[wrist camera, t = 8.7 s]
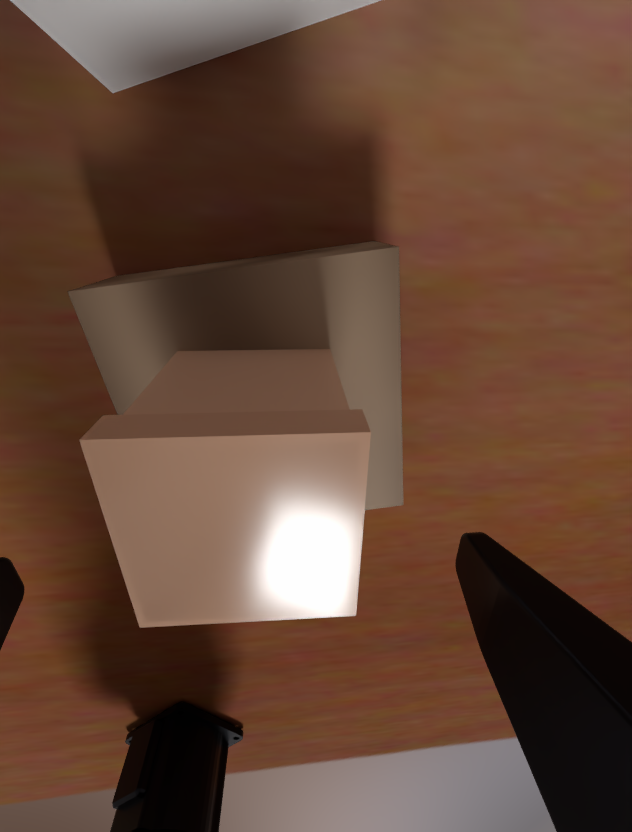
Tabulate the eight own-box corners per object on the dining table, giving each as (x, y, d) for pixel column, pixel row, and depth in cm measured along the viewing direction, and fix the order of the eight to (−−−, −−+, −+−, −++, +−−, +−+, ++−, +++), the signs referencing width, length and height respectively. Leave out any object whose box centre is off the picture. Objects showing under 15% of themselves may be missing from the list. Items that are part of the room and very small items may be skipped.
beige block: (372, 240, 15) (398, 246, 11) (382, 453, 20) (403, 504, 16) (120, 274, 15) (67, 291, 11) (189, 479, 20) (167, 536, 16)
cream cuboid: (336, 343, 13) (370, 432, 7) (332, 476, 15) (355, 615, 10) (169, 345, 12) (79, 440, 7) (193, 480, 15) (139, 627, 9)
